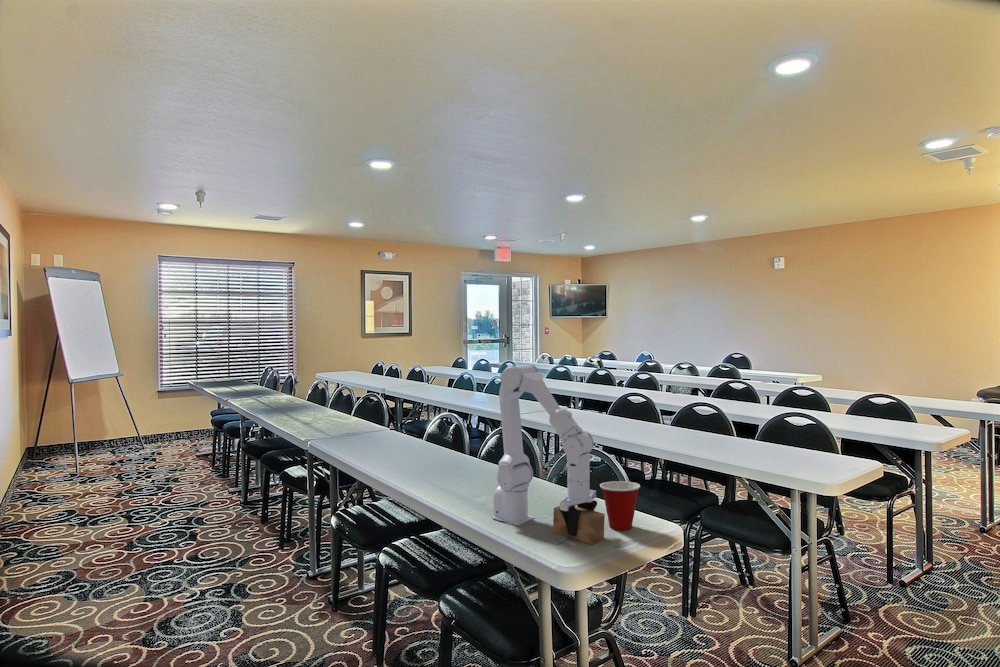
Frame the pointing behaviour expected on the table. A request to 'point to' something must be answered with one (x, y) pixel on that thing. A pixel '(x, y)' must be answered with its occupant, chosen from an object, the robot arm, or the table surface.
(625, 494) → the plastic cup
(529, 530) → the felt mat
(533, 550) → the table surface
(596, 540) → the wooden block
